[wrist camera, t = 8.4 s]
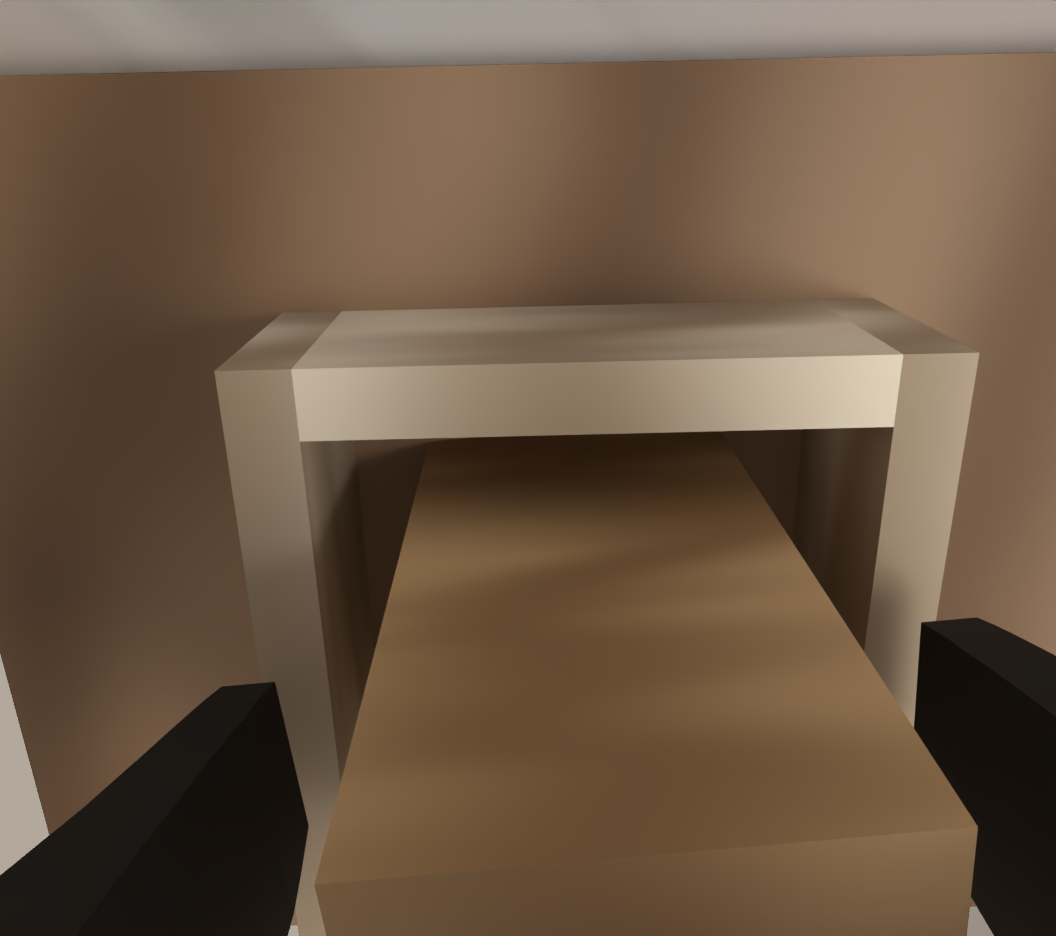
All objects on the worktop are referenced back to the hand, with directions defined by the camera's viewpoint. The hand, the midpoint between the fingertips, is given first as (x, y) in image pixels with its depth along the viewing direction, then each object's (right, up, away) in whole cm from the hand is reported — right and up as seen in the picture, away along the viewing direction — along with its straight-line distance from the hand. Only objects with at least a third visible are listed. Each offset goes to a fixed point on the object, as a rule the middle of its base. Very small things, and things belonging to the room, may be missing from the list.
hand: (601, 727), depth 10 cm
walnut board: (0, +2, +5) cm, 5 cm away
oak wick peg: (0, +2, +3) cm, 4 cm away
